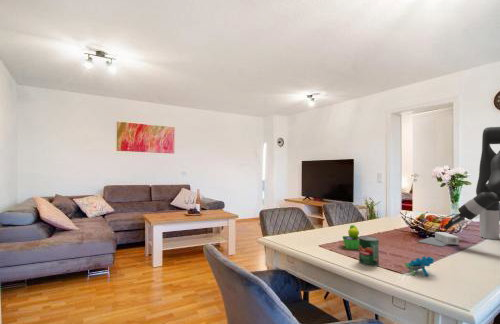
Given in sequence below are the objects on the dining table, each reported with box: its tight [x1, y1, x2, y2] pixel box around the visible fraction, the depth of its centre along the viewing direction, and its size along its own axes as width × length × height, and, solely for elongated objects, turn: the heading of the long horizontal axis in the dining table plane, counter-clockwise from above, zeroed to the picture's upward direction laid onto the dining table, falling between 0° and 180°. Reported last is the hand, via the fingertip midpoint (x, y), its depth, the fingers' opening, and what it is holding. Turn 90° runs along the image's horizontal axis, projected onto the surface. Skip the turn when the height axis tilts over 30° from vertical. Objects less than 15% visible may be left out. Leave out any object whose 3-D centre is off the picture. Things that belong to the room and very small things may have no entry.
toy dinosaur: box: [404, 255, 435, 277], centre depth 107 cm, size 11×6×10 cm
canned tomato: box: [358, 235, 380, 267], centre depth 119 cm, size 8×8×11 cm
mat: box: [417, 236, 449, 248], centre depth 156 cm, size 18×12×1 cm, turn 125°
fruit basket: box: [341, 224, 360, 251], centre depth 143 cm, size 11×9×11 cm
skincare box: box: [434, 231, 460, 246], centre depth 155 cm, size 6×4×12 cm
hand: (445, 228), depth 152 cm, fingers closed
